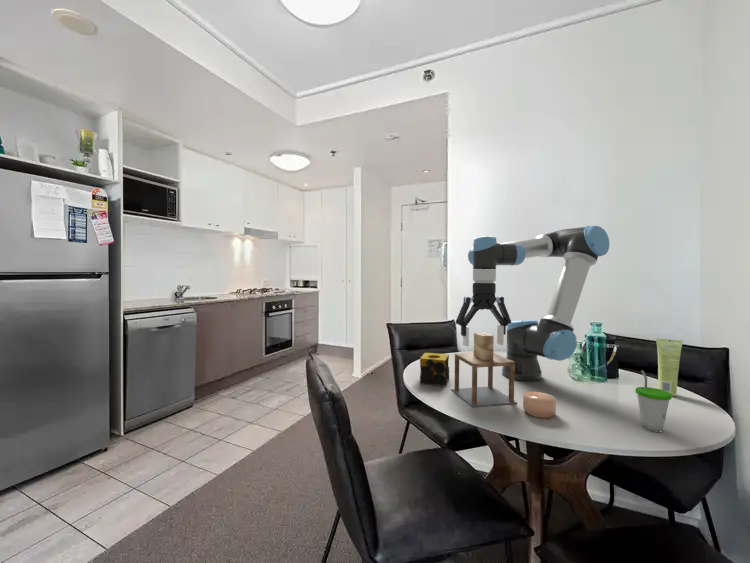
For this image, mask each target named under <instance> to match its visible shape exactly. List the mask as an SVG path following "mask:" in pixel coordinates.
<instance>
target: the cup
mask: <svg viewBox="0 0 750 563" xmlns="http://www.w3.org/2000/svg"><path fill="white" fill-rule="evenodd" d="M640 372H641V374H642V376H643V377H644V386H639V387H636V388H635V394H637V399H638V400H637V401H638V407H639V409H638V410H639V416H640V423H641V427H642V428H643V429H644V428H645V429H644V430H646V429H647V431H649V430H651V431H650V432H653V431H657V432H656V433H661V432H660V431H663V432H664V427H665V421H666V417H667V414H668V413H667V412H668V408H669V403H670V400H672V398H673V396H672V394H671V393H669V392H667V391H664V390H660V389H658V388H654V387H648V377H647V375H646V373H645V371H644V370H641V371H640Z"/></svg>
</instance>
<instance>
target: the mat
mask: <svg viewBox="0 0 750 563" xmlns="http://www.w3.org/2000/svg"><path fill="white" fill-rule="evenodd" d="M450 391H452V392H453V393H454V394H455V395H456V396H457V397H459V398H460V399H461V400H463V401H464V403H466V404H467V403H468V405H469V406H470V407H471V408H479V407H495V406H503V405H505V406H506V405H507V406H508V405H517V404H518V402H517V401H516V400H514V402H510V401H509V395H506V394H505V393H503V392H501V391H500V390H499V389H496V388H495V387H493V388H488V386H477V405H473V404H472V387H465V388H464V387H463V388H462V387H461V388H460V387H459V391H455V390H454V388H452V389H450Z"/></svg>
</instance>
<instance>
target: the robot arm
mask: <svg viewBox="0 0 750 563" xmlns="http://www.w3.org/2000/svg"><path fill="white" fill-rule="evenodd" d="M609 249H610V238H609V235H608V233H607V232H606V230H605V229H604V228H603V227H601V226H600V225H586V226H582V227H581V226H580V227H573V228H565V229H559V230H555V231H552V232H548V233H544V234H539V235H537V236H536V237H535V238H534V237H533V238H528V239H521V240H516V241H508V242H500V243H498V241H497V238H496V236H485V235H484V236H478V237H477V236H476V237H475V238H474V239H473V245H472V248H471V249H470V250H469V251H468V253H467V259H468V261H469V263H470V264H471V265H472V281H473V282H472V297H469V296H464V297H463V303H462V306H461V307H460V310H459V313H458V315H457V317H456V320H455V324H456V325H459V326H460V335H461V336H462V345H463V346H465V347H469V345H470V327H469V326H468V325H469V323H470V322H471V321H472V319H473V318H474V316H475V315H476V313H477V312H478V311H479V310H482V311H483V310H489V311H490V312H491V313H492V315H493V317H495V319H496V320H497V322H498V324H497V331H496V333H497V334H496V335H497V338H496V344H498V345H501V346H503V345H504V338H505V335H506V357H505V358H507V359H509V360H512V361H514V362H515V371H514V381H515V380H517V381H523V382H533V381H534V382H536V381H540V380H542V376H543V375H542V374H543V372H542V369H541V366H540V363H539V360H538V356H539V357H543V358H546V359H548V360H553V361H561V362H562V361H565V360H567V359H569V358H570V357H572V355H573V354H574V353H575V351H576V349H577V345H578V344H577V343H578V341H577V335H576V334H575V333H574V330H575V329H574V326H573V325H572V321H573V318H574V316H575V312H576V309H577V306H578V304H579V300H580V297H581V294H582V292H583V288H584V286H585V283H586V279H587V277H588V273H589V270H590V268H591V267H592V266H594V265H596V264H597V263H598V262H597V261H598V259H599V257H602V256H605V255H607V254H608V252H609ZM534 257H540V258H549V257H550V258H552V257H553V258H554V257H555V258H563V259H564V260H565V262H564V265H563V268H562V271H561V273H560V275H559V276H560V277H559V280H558V281H557V285H556V287H555V290H554V294H553V296H552V298H551V302H550V305H549V308H548V310H547V314H546V315H545V316H544V317H541V318H540V319H539V320H540V321H538V320H536V319H534V320H533V319H529V320H528V319H526V320H525V319H522V320H521V319H520V320H519V319H518V320H511V317H510V315H509V312H508V309H507V307H506V304H505V297H504V296H500V295H498V296H496V291H497V289H496V288H497V284H496V283H495V282H496V281H497V266H519V265H521V264H522V263H524V261H525V259H529V258H534ZM471 303H473V305H472V306H471V307H470V305H471ZM495 303H497V304H496V305H497V306H498V309H499V310H498V309H497V306H496V305H495ZM469 308H470V309H469ZM468 310H469V311H468ZM506 328H507V329H506ZM501 367H502V368H501V373H502V376H504V377H506V378H508V379H509V366H501Z"/></svg>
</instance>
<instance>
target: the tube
mask: <svg viewBox="0 0 750 563" xmlns="http://www.w3.org/2000/svg"><path fill="white" fill-rule="evenodd" d="M655 342H656V347H657V348H656V349H657V365H658V366H657V367H658V368H657V376H658V377H657V378H658V379H657V380H658V381H657V382H658V383H657V384H658V385H657V386H658V387H657V389H660V390H664V391H667V392H669V393H671V394H672V397H676V396H677V391H678V378H679V371H680V370H679V369H680V359H681V355H682V354H681V352H682V348H683V343H684V342H683V339H681V340H679V339H666V338H665V339H664V338H656V340H655Z"/></svg>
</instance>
